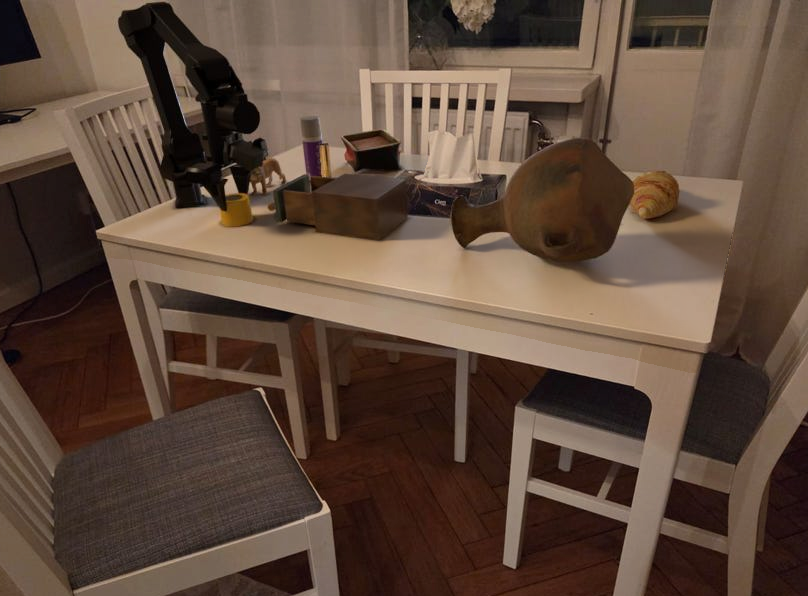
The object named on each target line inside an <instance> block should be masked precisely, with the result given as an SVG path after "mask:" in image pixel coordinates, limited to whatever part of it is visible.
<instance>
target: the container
mask: <svg viewBox="0 0 808 596" xmlns="http://www.w3.org/2000/svg"><path fill="white" fill-rule="evenodd" d="M300 130H301V141H302V151H303V158H304V167H305V168H304V169H305V174H308V175H309V181H310V186H311V180H310V177H311V176H320V177H322V175H321V162H320V153H319V145H320V144H323V145H324V143H323V135H322V127H321V117H320V116H319V115H307V116H302V117H300Z"/></svg>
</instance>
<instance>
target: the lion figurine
mask: <svg viewBox="0 0 808 596" xmlns="http://www.w3.org/2000/svg"><path fill="white" fill-rule="evenodd" d="M273 173H275V174H276V175H277V176H278V179H279V180H282V181H281V185H284V184H286V183H287V179H286V174H285V173H284V172H283V170H282V168H281V165H280V162H279V160H278V159H276V158H275V157H269V158H266V160H265V161H263V166H262V167H258V168H256V169H255V170H254V172H253V173H252V174H251V179H250V184H251V188H252V191H251V195H253V196H255V195H257V194H258V189H257V184H261V194H262V195H263V196H265V195H268V189H267V188H269V187H271V186H272V182H273V179H274V178H273ZM266 179H268V182H267V181H266Z"/></svg>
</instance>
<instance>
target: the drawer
mask: <svg viewBox="0 0 808 596" xmlns="http://www.w3.org/2000/svg"><path fill="white" fill-rule="evenodd" d="M336 178H337V177H329V176H326V177H320V176H311V177H310V180H311V185H310V181H309V175H308V174H306V173H304V174H302V175H300V176H298V177H295V178H294V179H292V180H290V181H288V182H286V184H281V185H280V186H278V187H277V188H274V189H273V190H272V197H273V202H270V203H269V204H267V209H268V211H270V212H272V211H274V212H275V215H276V216H275V219H276V222H277V223H284V222H285V221H286V222H287V223H296V224H301V225H310V226H315V217H314V208H313V199H312V192H313V191H315V190H316V189H318V188H320V187H322V186H324V185H325V184H327V183H329V182H331V181H332V180H334V179H336Z"/></svg>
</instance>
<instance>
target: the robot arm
mask: <svg viewBox="0 0 808 596" xmlns="http://www.w3.org/2000/svg"><path fill="white" fill-rule="evenodd" d="M117 25H118V29H119V32H120V34H121V35H122V36H123V38H124V41H125V43H126V45H127V47H128V49H129V50H130V51H132V53H133V54H134V55H135V56H136V57H137V58H138V59H139V60H140V62H141V66H142V69H143V72H144V74H145V77H146V80H147V84H148V86H149V89H150V93H151V96H152V99H153V102H154V104H155V105H154V106H155V107H156V110H157V114H158V117H159V119H160V123H161V126H162V129H163V137H162V140H161V141H162V142H161V146H160V147H161V151H162V154H163V155H162V159H161V161H160V166H159V172H160V175H161V177H162V179H164V180H167V181H169V182H172V185H173V189H174V190H173V191H174V194H175V202H174V208H176V209H178V208H186V207H187V208H188V207H194V206H203V205H205V204H206V196H205V194H202V189H201V186H202V187H203V189H204V190H206V192H207V193H208V194H209V195H210V197H211V198H212V199H213V201H214V202H215V204H216V205H217V206H218V209H219V208H220V209H221V210H222V211H227V203H226V196H225V195H226V189H225V187H226V184H227V182H228V181H229V178H224V177H223V171H224V172H225V171H226V170H230V174H231V176H232V178H233V179H232V180H233V181H234V185H235V187H236V190H237V193H244V194H247V195H249V190H250V184H251V183H250V179H251V174H252V173H253V172H254V170H255V169H256V168H258V167H262V166H263V162H264V161H265V160H266V159H267V157H269V152H268V149H269V148H268V144H267V140H266V139H264V138H262V137H258V138H255V139H254V140H253V141H252V140H249V141H247V140H245V139H244V136H243V135H251V134H253V133H254V132H256V131H257V129H259V126H260V122H261V113H260V111H259V109H258V107H257V105H255V104H254V103H253V102H252V101H250V100H249V98H248V94H247V93H246V92H245V90H244V87H243V83H242V82H241V80H240V78H239V77H238V76H237V73H236V72H235V70H234V68H233V67H232V64H231V62H230V61H229V59H228V57H226V56H225V55H223V53H221V52H220V51H219V50H218V49H216V48H213V47H210V46H208V45H206V44H205V45H204V43H202V42H201V41H200V40H199V38H197V36H196V35H195V34H194V33H193V32H192V31H191V30H190V28H189V27H187V25H186V24H185V23H184V22H183V21H182V19H181V18H180V17H179V16H178V14H176V13H175V11H174V9H173V6H172V5H171V3H169V2H166V1H154V2H146V3H145V4H143V5H141V6H140V7H137V8H133V9H124V10H122V11H121V13H120V16H119V17H118V19H117ZM166 45H168V47H169V48H170V49H171V50H172V51H173V53H175V55H176V56H177V57H178V59H180V61H181V62H182V63H183V65H184V69H185V70H184V71H185V77H186V78H187V80H188V81H189V83H190V85H191V86H192V87H193V89H194V90H195V91H196V93H197V95H196V96H195V98H194V101H195V102H198V103H200V108H201V113H202V118H203V123H204V129H205V133H203V134H201V138H202V141H207V144H208V150H209V155H206V152H205V150H204V147H203V145H202V141H201V138H200V135H199V134H198V133H197V132H194V131H192V130H191V129H190V128H189V127H188V125H187V123H186V120H185V117H184V113H183V110H182V107H181V104H180V101H179V97H178V94H177V92H176V89H175V86H174V81H173V79H172V76H171V73H170V70H169V66H168V63H167V59H166V58H165V57H166V56H165V49H166Z"/></svg>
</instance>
